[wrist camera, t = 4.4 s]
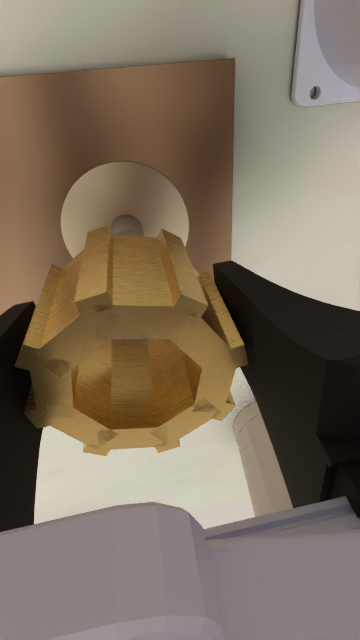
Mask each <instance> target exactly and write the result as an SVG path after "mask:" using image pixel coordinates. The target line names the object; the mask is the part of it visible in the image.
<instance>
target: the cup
mask: <svg viewBox="0 0 360 640" xmlns="http://www.w3.org/2000/svg"><path fill="white" fill-rule="evenodd" d="M233 431H234V434H235V437H236V440H237V443H238V447H239V451H240V455H241V460H242V464H243V468H244V472H245V476H246V480H247V484H248V488H249V492H250V497H251V501H252V505H253V509H254V513H255V517H259V516H263V515H267V514H271V513H276V512H280V511H284V510H289V509H293V506H292V503H291V500H290V497H289V494H288V491H287V488H286V484H285V481H284V478H283V476H282V473H281V470H280V467H279V464H278V461H277V458H276V455H275V452H274V449H273V446H272V443H271V440H270V438H269V435H268V432H267V429H266V426H265V424H264V421H263V418H262V415H261V413H260V410H259V407H258V405H257V402H253V403H252V404H250V405H248V406H247V407H245V408H244V409H243V410H242V411H241V412H240V413H239V414H238V415H237V417H236V418H235V420H234V423H233Z"/></svg>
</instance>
